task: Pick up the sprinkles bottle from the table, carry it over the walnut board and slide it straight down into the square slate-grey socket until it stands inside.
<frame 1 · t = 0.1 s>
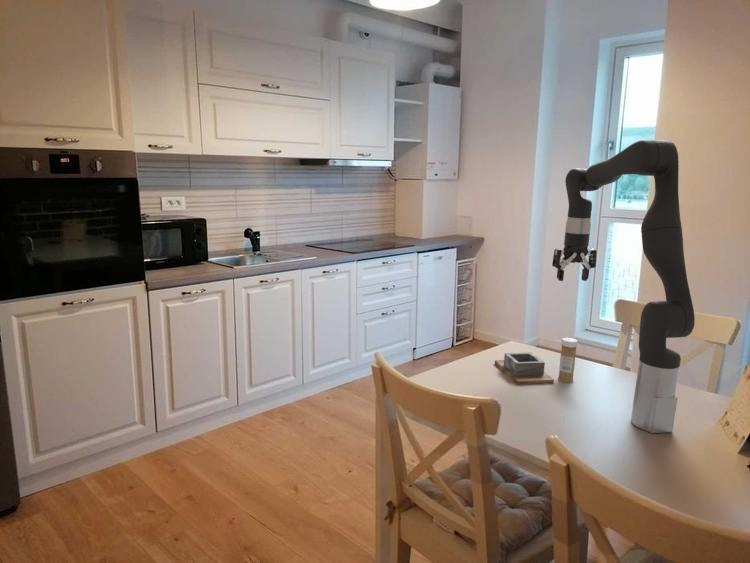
hand: (572, 280, 179), 29 cm above the table, tool pointing down, fingers open, 8 cm apart
sprinkles bottle: (565, 380, 171), on the table
socket holder: (522, 373, 176), on the table
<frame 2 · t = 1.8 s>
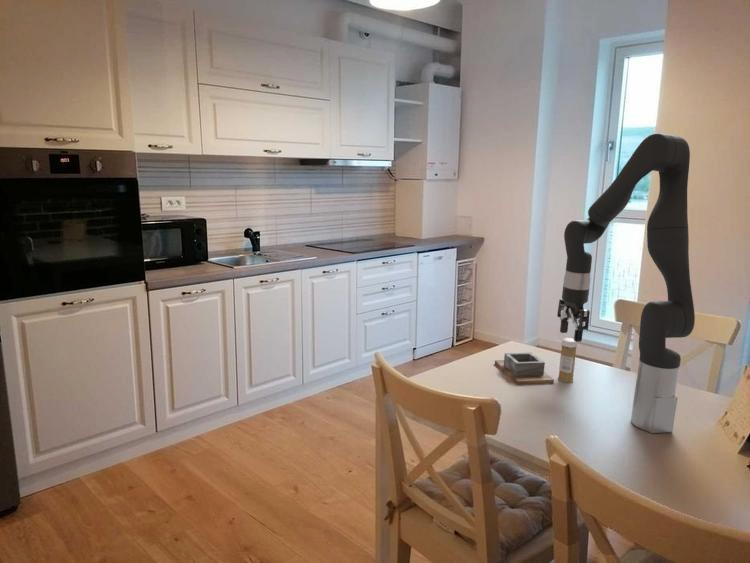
hand: (570, 336, 168), 14 cm above the table, tool pointing down, fingers open, 8 cm apart
nothing on the table moved.
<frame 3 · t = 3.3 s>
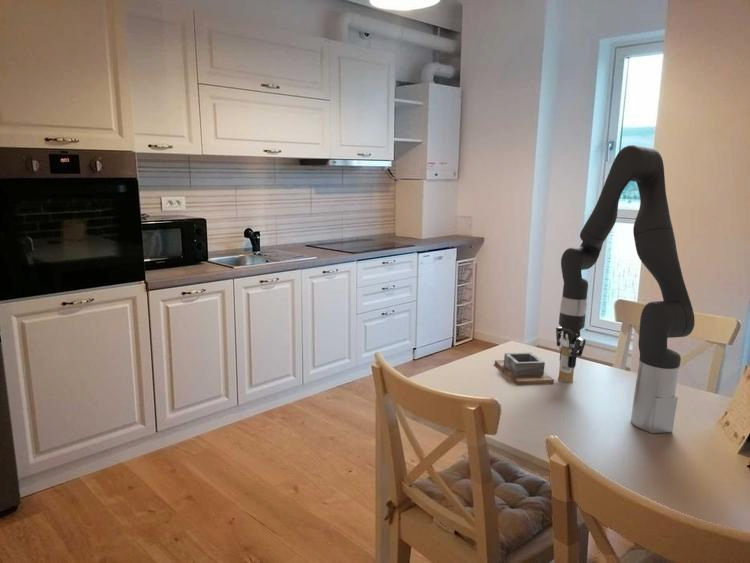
hand: (567, 364, 170), 5 cm above the table, tool pointing down, fingers closed on sprinkles bottle, 4 cm apart
sprinkles bottle: (565, 380, 171), on the table, touching gripper
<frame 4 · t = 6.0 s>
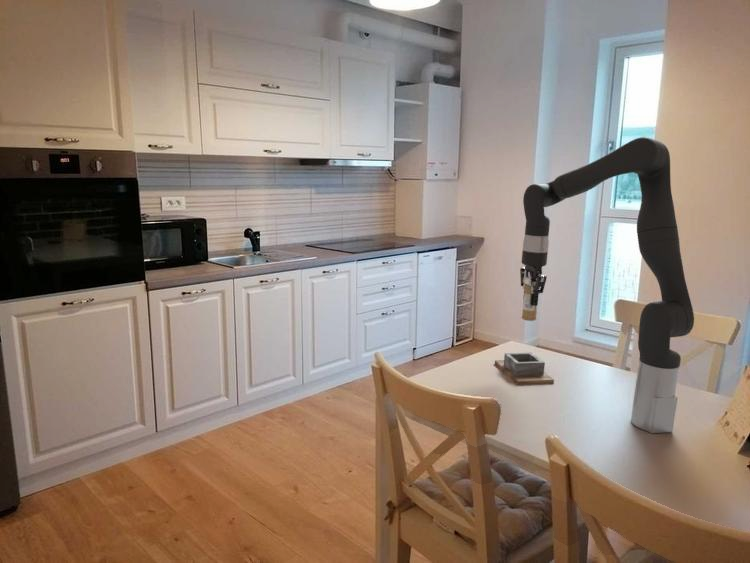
hand: (530, 303, 171), 23 cm above the table, tool pointing down, fingers closed on sprinkles bottle, 4 cm apart
sprinkles bottle: (528, 319, 172), point 18 cm above the table, touching gripper
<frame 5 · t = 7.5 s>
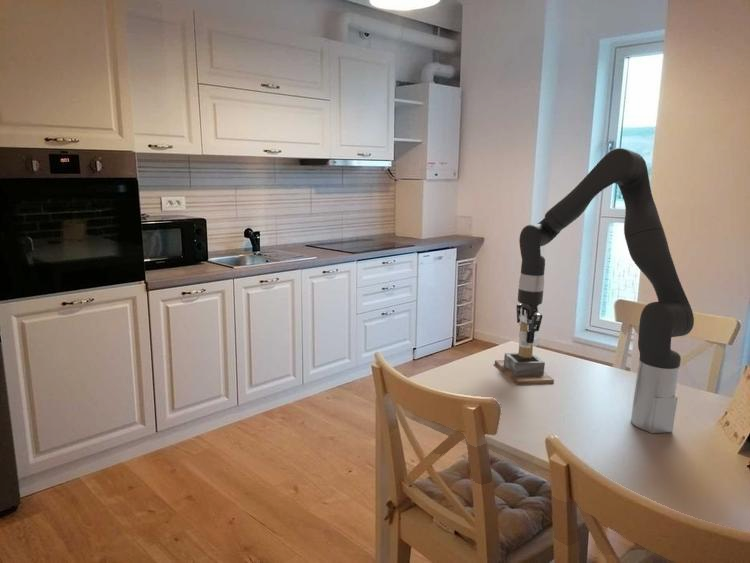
hand: (526, 339, 173), 11 cm above the table, tool pointing down, fingers closed on sprinkles bottle, 4 cm apart
sprinkles bottle: (524, 356, 174), point 6 cm above the table, touching gripper
when the fingers open (8 cm above the table, at t = 8.8 s): sprinkles bottle drops 1 cm, resting on socket holder.
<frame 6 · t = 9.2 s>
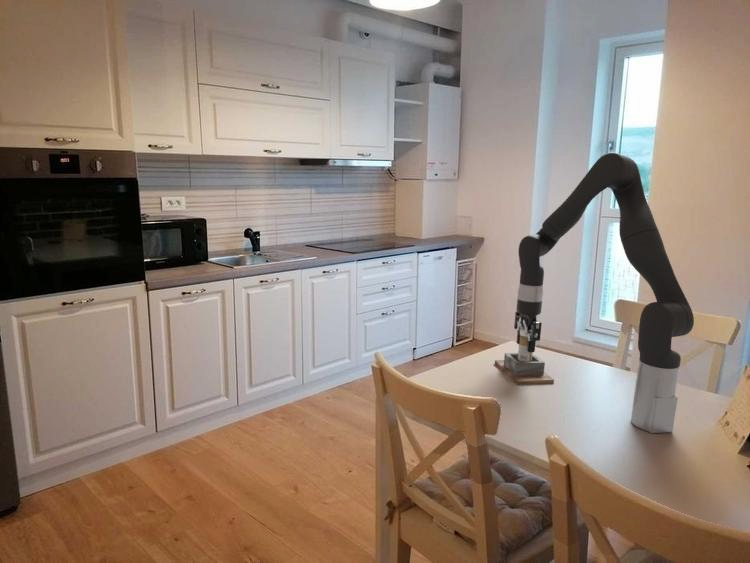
hand: (525, 347, 174), 9 cm above the table, tool pointing down, fingers open, 7 cm apart
sprinkles bottle: (523, 370, 175), point 1 cm above the table, touching socket holder
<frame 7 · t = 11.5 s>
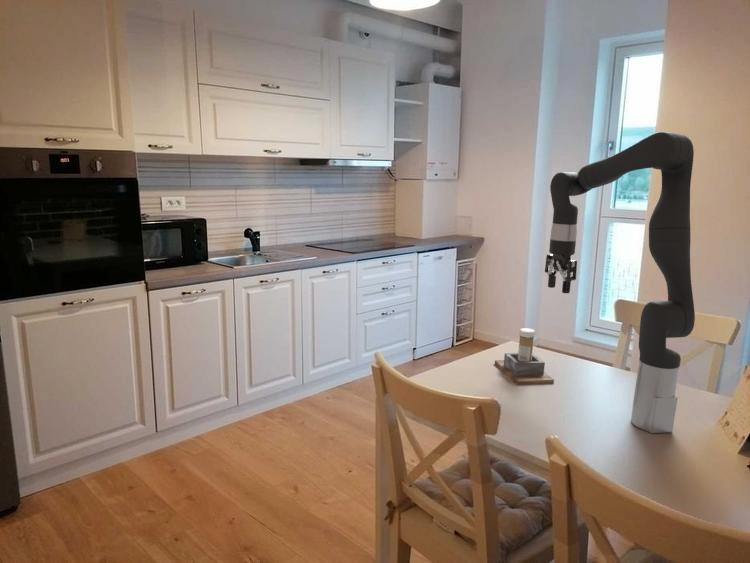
hand: (558, 290, 170), 28 cm above the table, tool pointing down, fingers open, 8 cm apart
nothing on the table moved.
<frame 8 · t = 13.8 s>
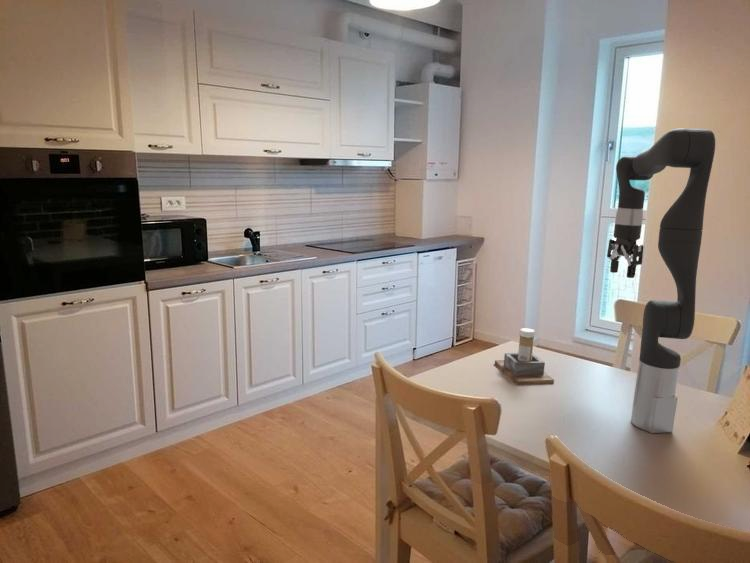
hand: (621, 274, 170), 33 cm above the table, tool pointing down, fingers open, 8 cm apart
nothing on the table moved.
at the end: sprinkles bottle 0.1 cm off-centre on the socket holder, point 1.0 cm above the socket holder's base; sprinkles bottle tilted 0°; the gripper is holding nothing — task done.
